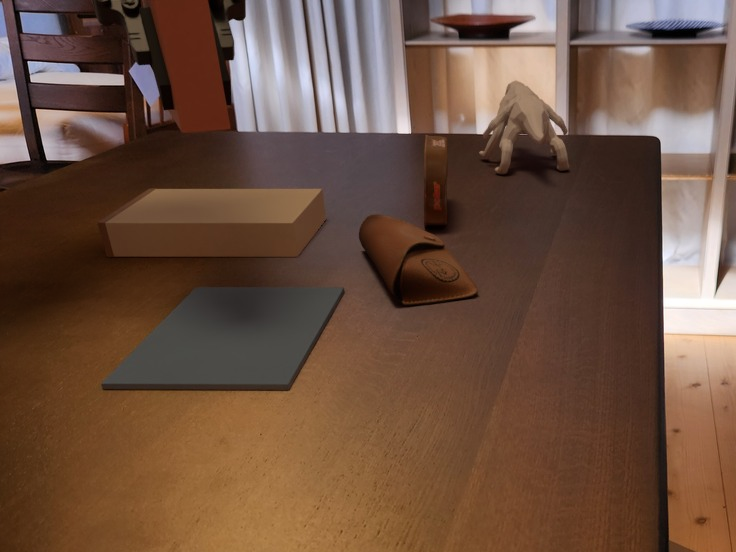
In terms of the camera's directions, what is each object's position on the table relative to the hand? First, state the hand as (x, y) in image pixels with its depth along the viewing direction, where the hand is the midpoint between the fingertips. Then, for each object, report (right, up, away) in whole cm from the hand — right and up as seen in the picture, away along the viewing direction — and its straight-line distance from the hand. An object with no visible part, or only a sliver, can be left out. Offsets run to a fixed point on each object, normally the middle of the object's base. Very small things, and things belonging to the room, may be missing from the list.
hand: (196, 95), depth 66 cm
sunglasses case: (+14, -7, +21) cm, 27 cm away
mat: (0, -16, +8) cm, 18 cm away
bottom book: (-9, 0, +32) cm, 33 cm away
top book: (-2, 0, +4) cm, 4 cm away
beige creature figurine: (+25, +18, +58) cm, 66 cm away
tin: (+14, +4, +38) cm, 41 cm away
